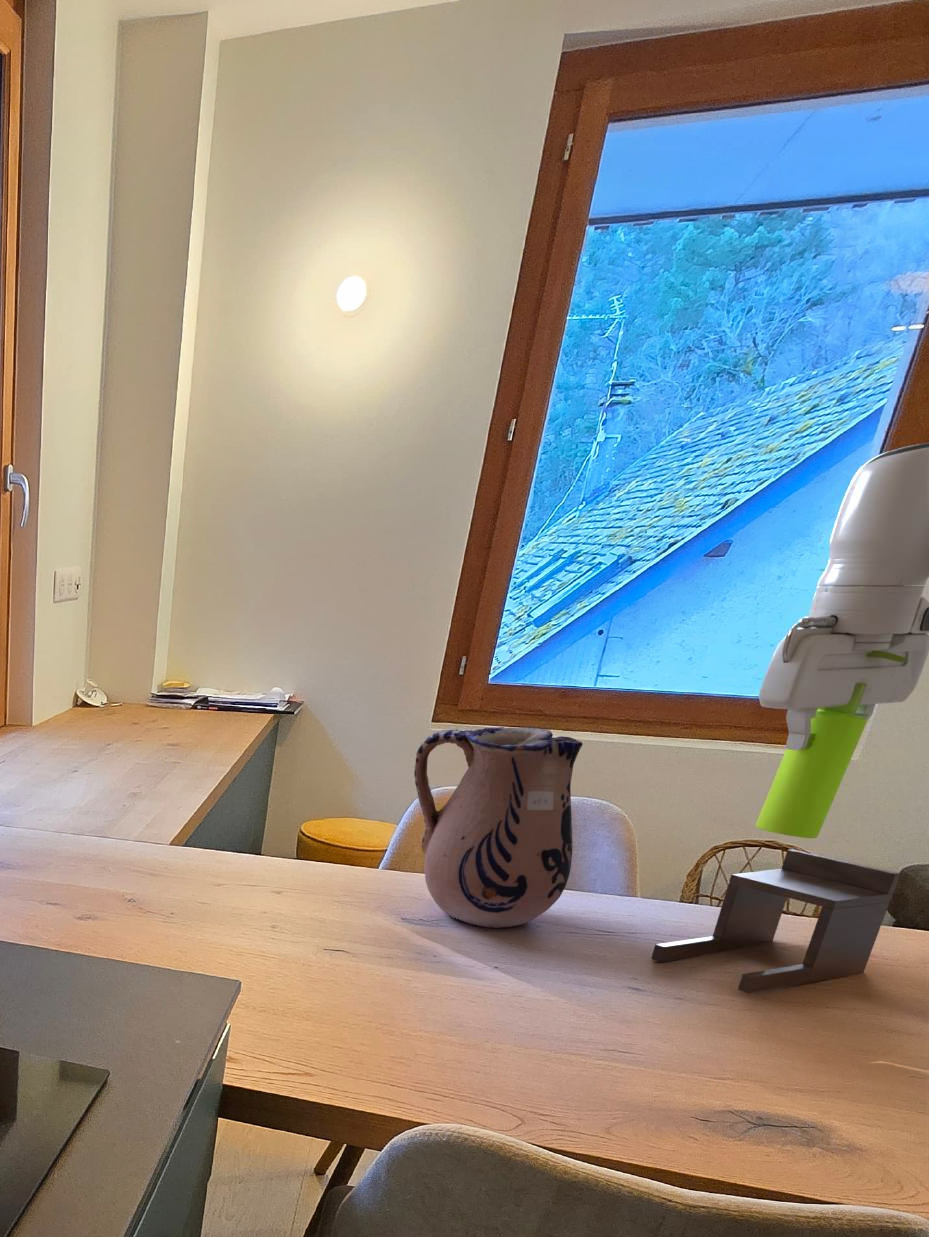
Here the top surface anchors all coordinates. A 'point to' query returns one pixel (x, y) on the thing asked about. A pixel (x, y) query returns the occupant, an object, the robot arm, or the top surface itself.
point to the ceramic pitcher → (500, 825)
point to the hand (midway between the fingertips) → (819, 747)
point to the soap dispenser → (815, 769)
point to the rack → (834, 884)
